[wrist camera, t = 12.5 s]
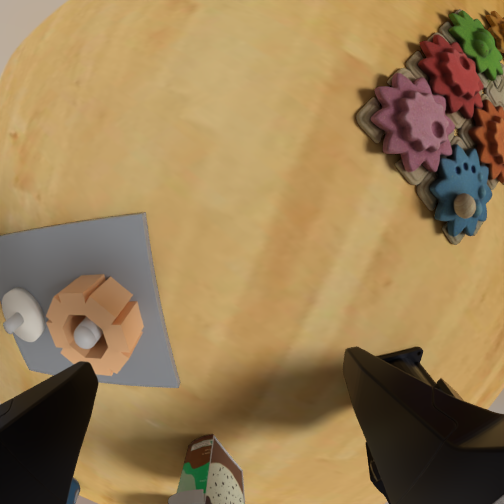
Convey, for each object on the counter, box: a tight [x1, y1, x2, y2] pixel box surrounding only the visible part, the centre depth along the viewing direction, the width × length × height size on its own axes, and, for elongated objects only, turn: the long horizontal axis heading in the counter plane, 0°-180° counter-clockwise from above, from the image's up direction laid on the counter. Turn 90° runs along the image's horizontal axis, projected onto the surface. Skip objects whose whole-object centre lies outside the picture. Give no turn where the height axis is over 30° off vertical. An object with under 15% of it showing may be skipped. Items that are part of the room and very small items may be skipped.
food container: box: [168, 434, 245, 504], centre depth 22 cm, size 12×6×10 cm, turn 18°
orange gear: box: [46, 274, 144, 376], centre depth 18 cm, size 7×7×4 cm
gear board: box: [0, 212, 180, 388], centre depth 18 cm, size 18×15×5 cm
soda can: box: [67, 478, 80, 504], centre depth 25 cm, size 7×7×12 cm
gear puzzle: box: [356, 9, 504, 245], centre depth 15 cm, size 31×16×4 cm, turn 139°
